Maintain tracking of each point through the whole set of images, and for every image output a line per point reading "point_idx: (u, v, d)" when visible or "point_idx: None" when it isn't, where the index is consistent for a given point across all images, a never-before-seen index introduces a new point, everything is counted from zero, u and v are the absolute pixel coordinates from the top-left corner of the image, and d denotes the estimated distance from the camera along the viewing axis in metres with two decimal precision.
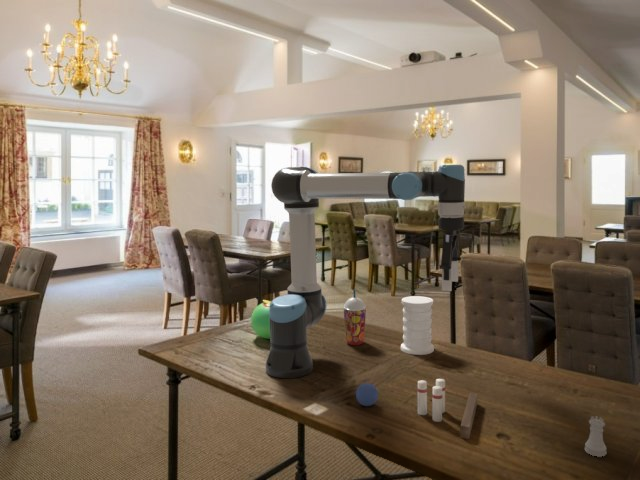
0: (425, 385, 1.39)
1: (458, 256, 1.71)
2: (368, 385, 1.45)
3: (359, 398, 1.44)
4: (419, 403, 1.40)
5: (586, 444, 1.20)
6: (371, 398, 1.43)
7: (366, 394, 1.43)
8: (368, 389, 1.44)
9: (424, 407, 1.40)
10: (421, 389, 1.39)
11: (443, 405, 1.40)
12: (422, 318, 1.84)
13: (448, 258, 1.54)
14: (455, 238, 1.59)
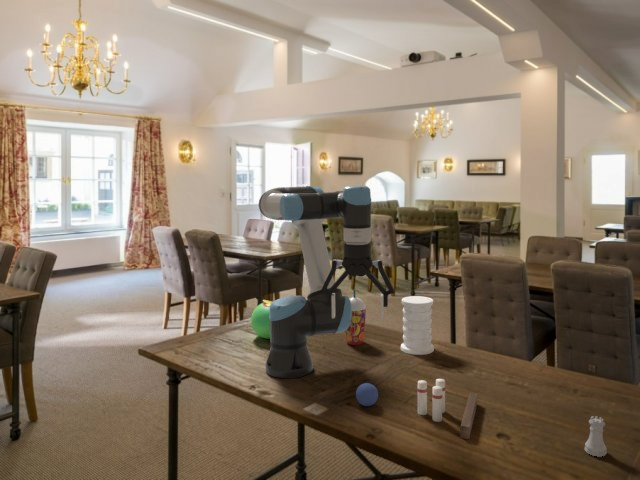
0: (425, 385, 1.39)
1: (390, 292, 1.47)
2: (368, 385, 1.45)
3: (359, 398, 1.44)
4: (419, 403, 1.40)
5: (586, 444, 1.20)
6: (371, 398, 1.43)
7: (366, 394, 1.43)
8: (368, 389, 1.44)
9: (424, 407, 1.40)
10: (421, 389, 1.39)
11: (443, 405, 1.40)
12: (422, 318, 1.84)
13: (324, 282, 1.50)
14: (349, 266, 1.47)
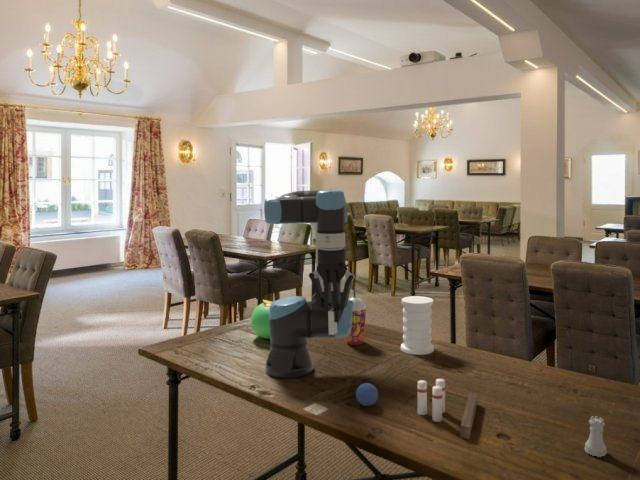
0: (425, 385, 1.39)
1: (340, 306, 1.44)
2: (368, 385, 1.45)
3: (359, 398, 1.44)
4: (419, 403, 1.40)
5: (586, 444, 1.20)
6: (371, 398, 1.43)
7: (366, 394, 1.43)
8: (368, 389, 1.44)
9: (424, 407, 1.40)
10: (421, 389, 1.39)
11: (443, 405, 1.40)
12: (422, 318, 1.84)
13: None
14: None
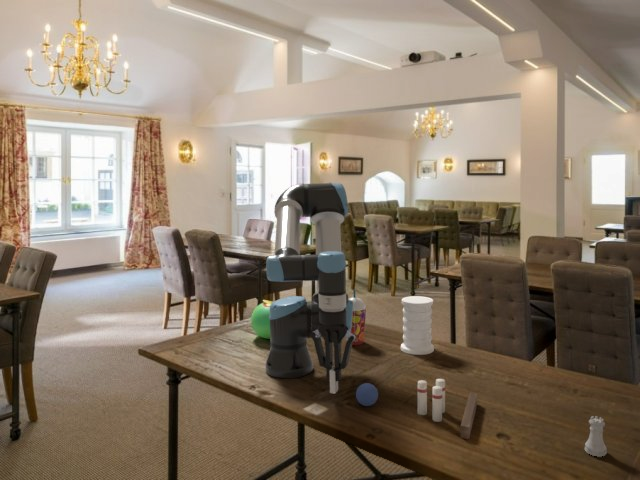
0: (425, 385, 1.39)
1: (341, 365, 1.46)
2: (368, 385, 1.45)
3: (359, 398, 1.44)
4: (419, 403, 1.40)
5: (586, 444, 1.20)
6: (371, 398, 1.43)
7: (366, 394, 1.43)
8: (368, 389, 1.44)
9: (424, 407, 1.40)
10: (421, 389, 1.39)
11: (443, 405, 1.40)
12: (422, 318, 1.84)
13: None
14: None
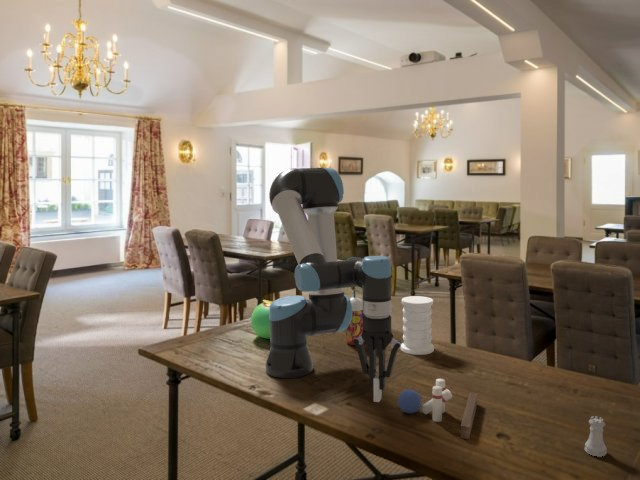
0: (449, 398, 1.37)
1: (385, 373, 1.42)
2: None
3: (411, 408, 1.38)
4: (430, 404, 1.39)
5: (586, 444, 1.20)
6: (401, 400, 1.40)
7: (402, 407, 1.40)
8: (400, 407, 1.41)
9: (431, 409, 1.39)
10: (443, 398, 1.37)
11: (443, 405, 1.40)
12: (422, 318, 1.84)
13: None
14: None
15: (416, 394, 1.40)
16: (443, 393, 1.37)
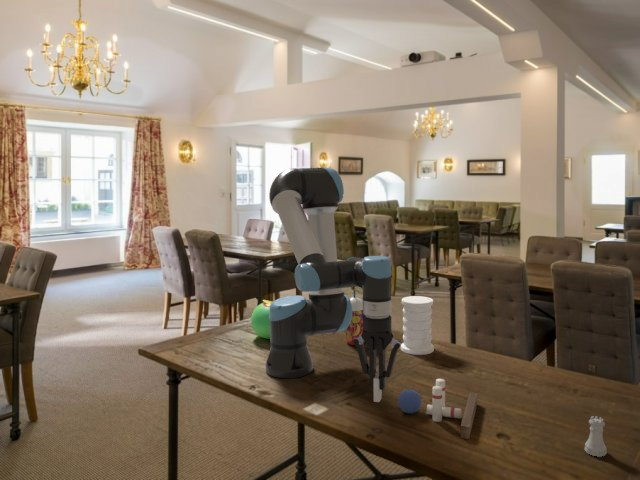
0: None
1: (385, 373, 1.42)
2: None
3: (411, 408, 1.38)
4: None
5: (586, 444, 1.20)
6: (401, 400, 1.40)
7: (402, 407, 1.39)
8: (400, 407, 1.41)
9: None
10: (454, 414, 1.37)
11: (443, 405, 1.40)
12: (422, 318, 1.84)
13: None
14: None
15: (416, 394, 1.40)
16: (456, 410, 1.37)
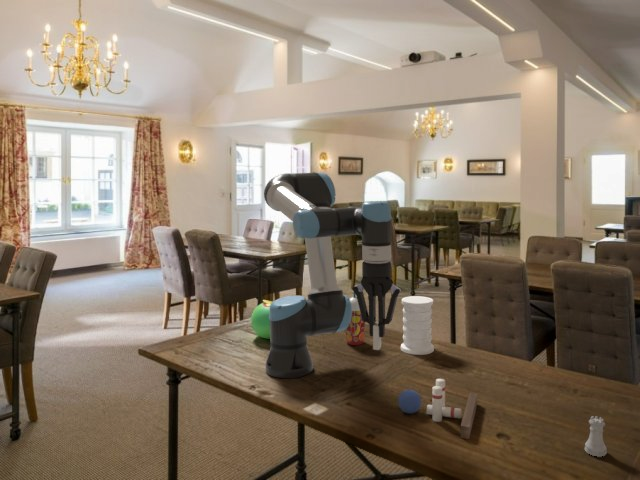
0: None
1: (385, 320, 1.40)
2: None
3: (411, 408, 1.38)
4: None
5: (586, 444, 1.20)
6: (401, 400, 1.40)
7: (402, 407, 1.39)
8: (400, 407, 1.41)
9: None
10: (454, 414, 1.37)
11: (443, 405, 1.40)
12: (422, 318, 1.84)
13: None
14: None
15: (416, 394, 1.40)
16: (456, 410, 1.37)
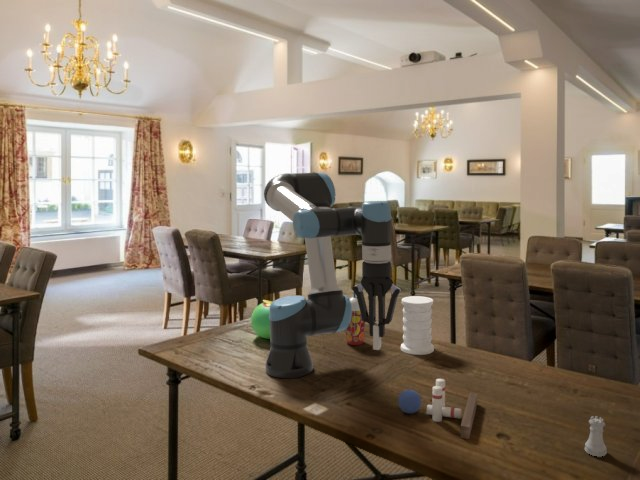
0: None
1: (385, 320, 1.40)
2: None
3: (411, 408, 1.38)
4: None
5: (586, 444, 1.20)
6: (401, 400, 1.40)
7: (402, 407, 1.39)
8: (400, 407, 1.41)
9: None
10: (454, 414, 1.37)
11: (443, 405, 1.40)
12: (422, 318, 1.84)
13: None
14: None
15: (416, 394, 1.40)
16: (456, 410, 1.37)
